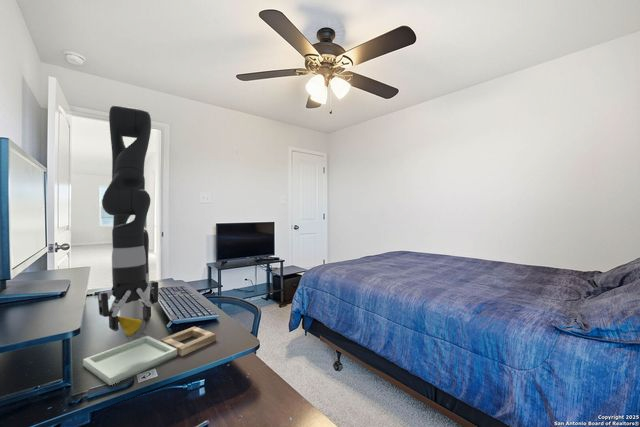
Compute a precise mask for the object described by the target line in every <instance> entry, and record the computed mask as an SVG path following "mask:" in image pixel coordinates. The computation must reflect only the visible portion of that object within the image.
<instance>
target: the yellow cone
mask: <svg viewBox="0 0 640 427" xmlns="http://www.w3.org/2000/svg"><path fill="white" fill-rule="evenodd" d="M117 316H118V315H117ZM118 324H119V325H120V326H121V328H122V330H123V331H124V332H125V337H126V338H128V339H129V340H132V339H135V338H136V337H138V336H139V335H146V332H147V330H148V328H147V327H146V324H147V321H145V320H144V319H142V318H140V319H133V318H125V317H120V315H119V316H118Z"/></svg>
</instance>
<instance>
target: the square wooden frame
mask: <svg viewBox="0 0 640 427" xmlns="http://www.w3.org/2000/svg"><path fill="white" fill-rule="evenodd" d="M191 336H192V337H193V338H196V339H193V340H192V341H188V342H187V343H183V342H182V341H185V340H186V339H189V338H191ZM159 341H160V342H162V343H165V344H167V345H169V346H171V347H173V348H176V349H177V356H180V357H184V356H185V355H187V354H190V353H192V352H193V351H196V350H198V349H200V348H203V347H205V346H207V345H209V344H211V343H213V342H215V341H217V334H216V333H214V332H211V331H209V330H206V329H204V328H201V327H197V326H192V327H190V328H187V329H184V330H181V331H178V332H175V333H173V334H170V335H169V336H165V337H163V338H160V340H159Z"/></svg>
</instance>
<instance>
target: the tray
mask: <svg viewBox="0 0 640 427" xmlns="http://www.w3.org/2000/svg"><path fill="white" fill-rule="evenodd" d="M177 356H178V354H177V349H176V348H173V347H171V346H169V345H167V344H165V343H162V342H161V340H158V339H155V338H154V337H151V336H149V335H146V336H142V337H140V338H137V339H135V340H132V341H129V342H127V343H124V344H121V345H119V346H116V347H113V348H110V349H107V350H105V351H102V352H99V353H96V354H94V355H90V356H88V357H85V358H83V359H82V362H83V364H82V365H83V367H84V368H85V369H87V370H88V371H89V372H91V373H93V374H94V376H96V377H98V379H100V380H101V381H103V382H104V383H106V384H107V385H108V386H110V385H112V386H114V385H116V384H118V383H120V381H121V382H122V380H123V381H125V380H127V379H129V378H132V377H133V376H136V375H138V374H140V373H142V372H144V371H146V370H148V369H151V368H153V367H156V366H158V365H159V364H163V363H164V362H167V361H168V360H170V359H173V358H175V357H177ZM115 383H116V384H115ZM113 384H114V385H113Z"/></svg>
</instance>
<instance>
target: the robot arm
mask: <svg viewBox="0 0 640 427" xmlns="http://www.w3.org/2000/svg"><path fill="white" fill-rule="evenodd" d="M108 121H109V122H108V123H109V133H110V134H109V135H110V145H111V157H112V158H111V163H112V164H111V165H112V167H111V168H112V169H111V182H110V183H109V185H108V187H107V188H106V190H105V192H104V194H103V196H102V199H101V204H102V208H103V210H104V211H105V213H106V214H108V215H110V216H113V224H112V226H113V227H112V232H111V235H112V236H111V237H112V239H111V240H112V243H111V244H112V250H111V252H112V253H111V275H112V276H111V278H112V288H111V289H110V290H108V291H99V292H98V293H97V301H98V302H97V303H98V313H99V315H100V316H102V317H106V318H107V317H108V327H109V329H110V330H111V331H113V332H117V331H119V322H118V314H119V316H120V317H125V318H133V319H140V318H142V319H144V320H145V321H146V322H148V321H150V319H151V317H152V305H154V304H157V303H158V302H159V282H158V281H156V280H151V281H150V268H149V267H150V266H149V265H150V264H149V250H150V249H149V247H150V246H149V245H150V242H149V241H150V239H149V238H150V237H149V232H148V230H146V229H145V224H146V219H147V215H148V214H149V213H148V212H149V211H150V206H151V196H150V194H149V192H148V191H147V190H145V189H146V188H145V186H146V185H145V184H146V180H145V161H146V156H147V153H148V152H147V151H148V148H149V144H150V138H151V133H152V132H151V131H152V119H151V115H150V112H149V111H147V110H144V109H140V108H136V107H128V106H123V105H116V104H114V105H112V106H111V107H110V108H109V113H108ZM124 137H125V138H134V139H135V140H134V141H133V142H132V143H131V144H130V145H128V146H127V147H126V146H125V145H126V144H125V142H124ZM131 216H134V218H133V220H132V221H130V222H128V221H129V219H130V217H131ZM111 296H113V297H114V299H113V301H112V303H111V306H110V308H109V300H110V299H111Z"/></svg>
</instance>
